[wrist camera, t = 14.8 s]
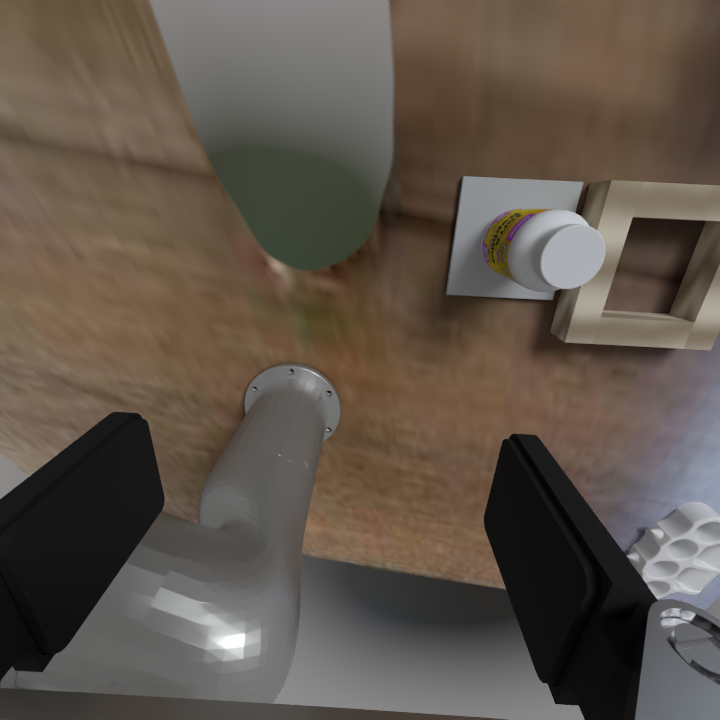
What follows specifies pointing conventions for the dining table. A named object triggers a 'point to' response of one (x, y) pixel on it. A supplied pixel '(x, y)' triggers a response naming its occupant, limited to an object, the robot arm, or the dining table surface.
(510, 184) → the grey mat
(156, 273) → the dining table surface
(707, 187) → the cup holder
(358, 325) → the dining table surface
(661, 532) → the white scalloped holder tray
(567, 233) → the supplement bottle
